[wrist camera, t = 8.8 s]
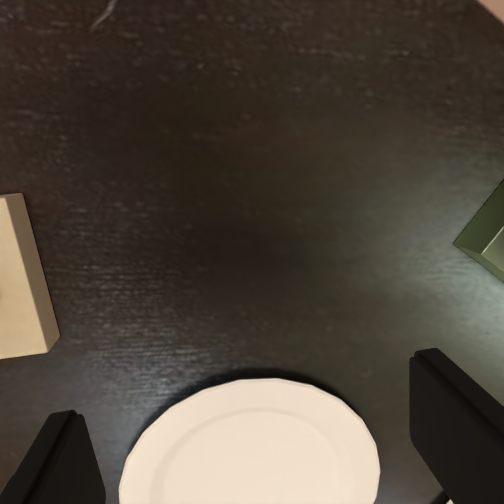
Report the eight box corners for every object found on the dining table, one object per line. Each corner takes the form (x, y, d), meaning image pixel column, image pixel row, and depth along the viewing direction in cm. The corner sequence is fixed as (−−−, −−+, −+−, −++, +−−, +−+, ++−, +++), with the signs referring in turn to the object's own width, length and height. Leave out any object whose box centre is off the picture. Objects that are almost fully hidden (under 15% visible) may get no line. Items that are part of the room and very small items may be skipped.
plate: (398, 517, 35) (408, 535, 33) (186, 602, 35) (184, 625, 33) (332, 326, 29) (339, 337, 27) (74, 429, 28) (65, 446, 27)
